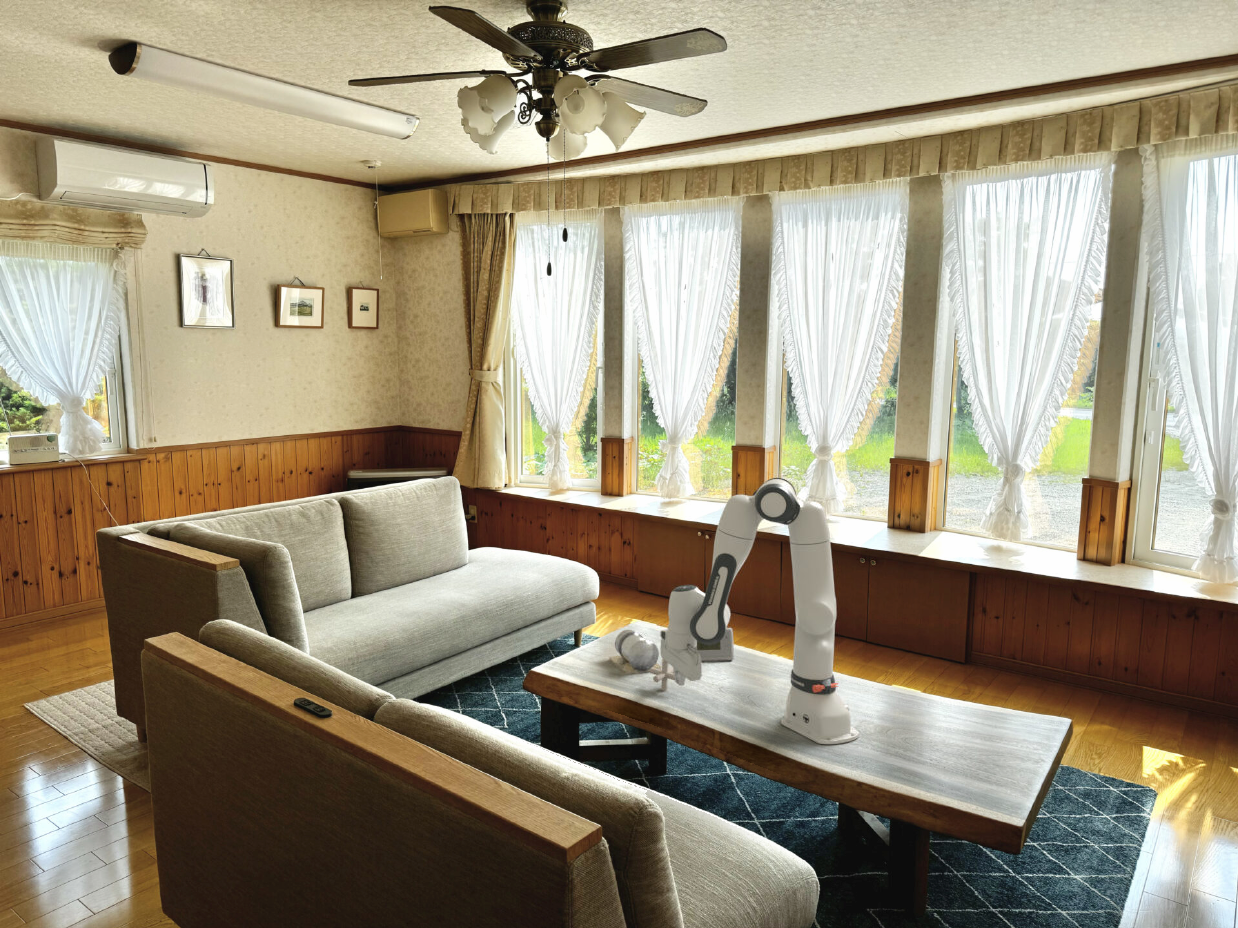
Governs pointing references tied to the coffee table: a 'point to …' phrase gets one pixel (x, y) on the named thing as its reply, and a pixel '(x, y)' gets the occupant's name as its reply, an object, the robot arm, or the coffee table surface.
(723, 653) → the digital clock
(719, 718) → the coffee table surface
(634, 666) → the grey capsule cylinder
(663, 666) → the pipe connector
